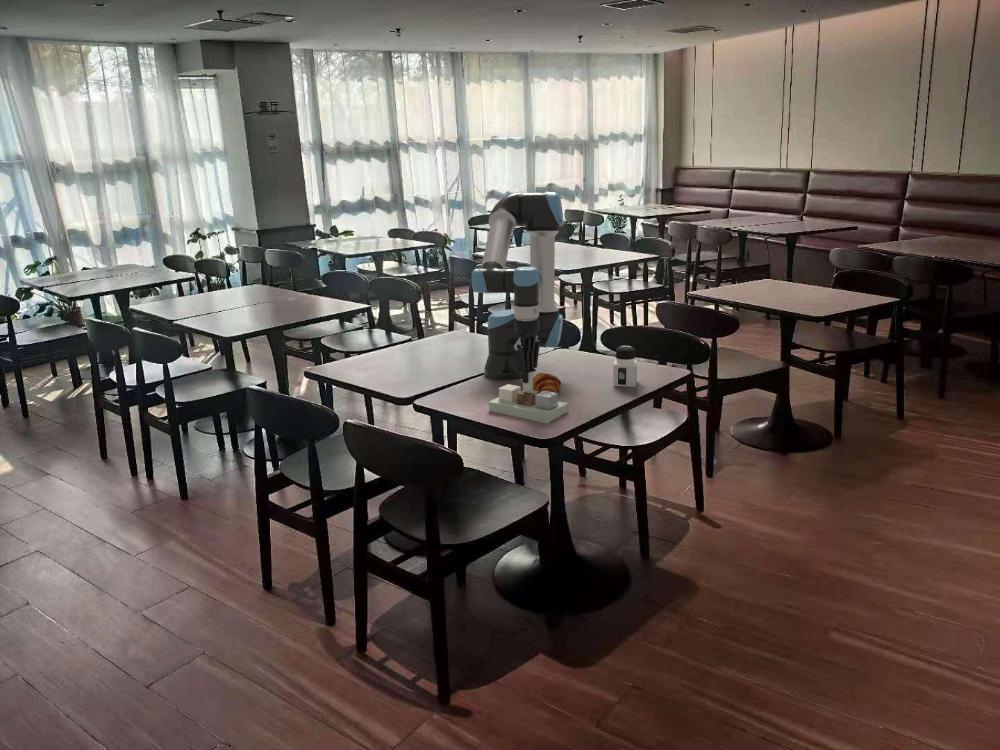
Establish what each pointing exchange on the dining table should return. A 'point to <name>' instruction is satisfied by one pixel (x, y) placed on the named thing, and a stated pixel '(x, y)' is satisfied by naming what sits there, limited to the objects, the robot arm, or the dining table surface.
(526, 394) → the brown wooden cube
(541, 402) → the white marble cube
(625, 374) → the container
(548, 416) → the pale green flat block
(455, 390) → the dining table surface
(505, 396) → the key ivory
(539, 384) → the croissant
